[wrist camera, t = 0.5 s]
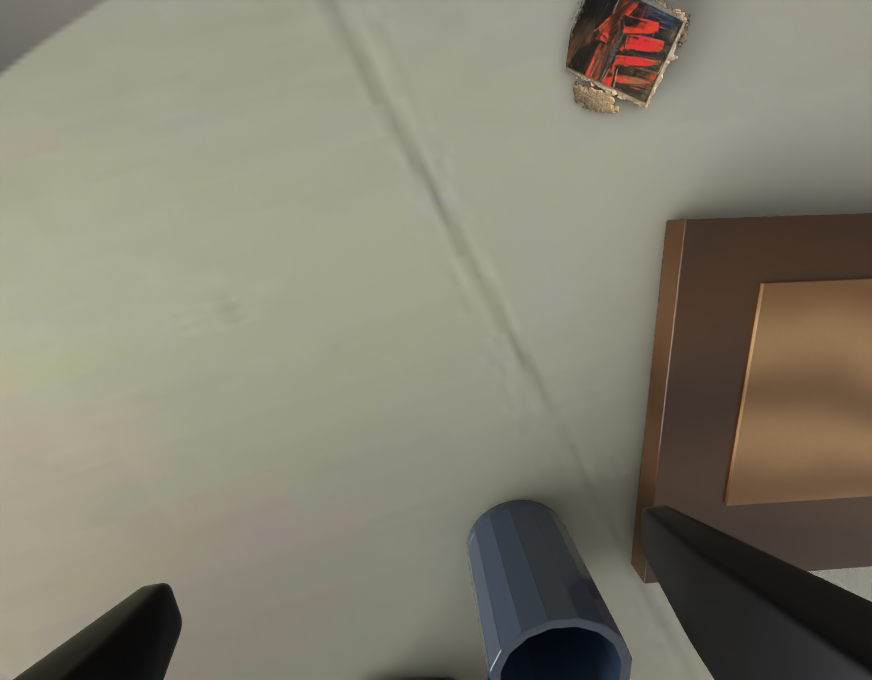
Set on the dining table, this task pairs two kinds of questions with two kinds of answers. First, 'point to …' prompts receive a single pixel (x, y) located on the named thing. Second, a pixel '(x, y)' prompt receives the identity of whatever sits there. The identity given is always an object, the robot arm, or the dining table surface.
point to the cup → (539, 600)
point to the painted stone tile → (623, 50)
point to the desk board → (765, 386)
